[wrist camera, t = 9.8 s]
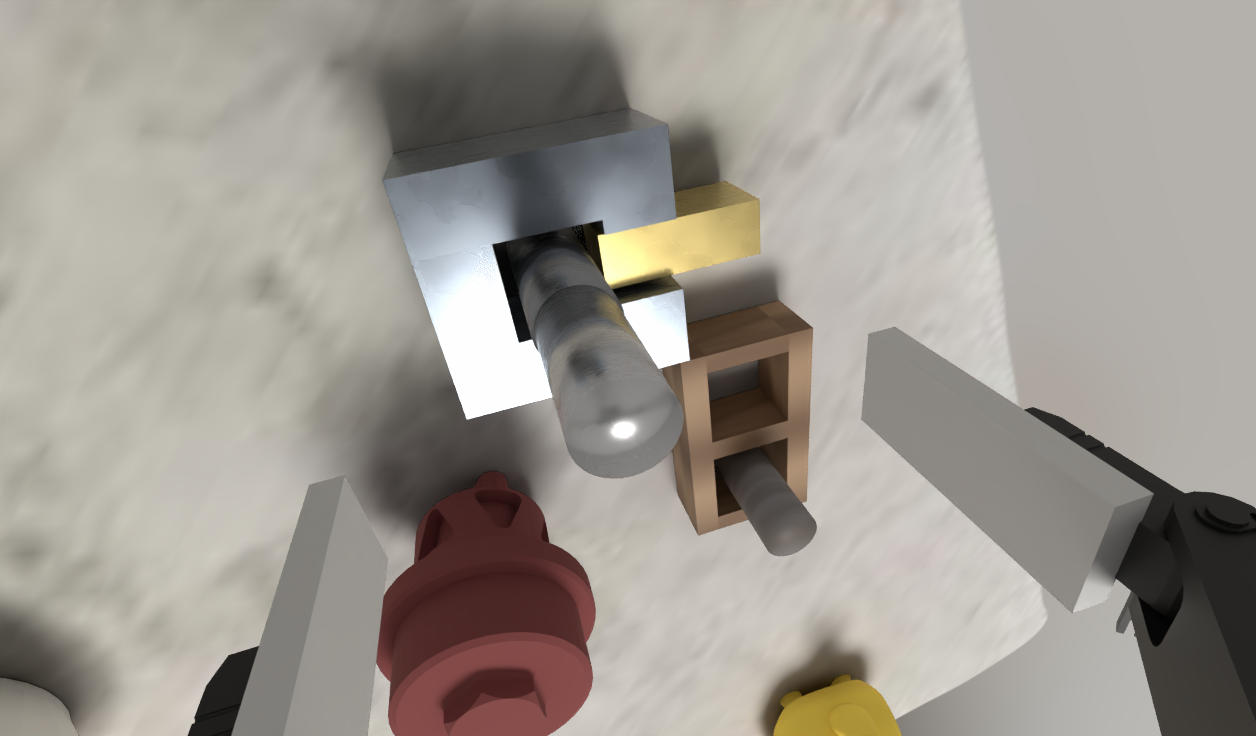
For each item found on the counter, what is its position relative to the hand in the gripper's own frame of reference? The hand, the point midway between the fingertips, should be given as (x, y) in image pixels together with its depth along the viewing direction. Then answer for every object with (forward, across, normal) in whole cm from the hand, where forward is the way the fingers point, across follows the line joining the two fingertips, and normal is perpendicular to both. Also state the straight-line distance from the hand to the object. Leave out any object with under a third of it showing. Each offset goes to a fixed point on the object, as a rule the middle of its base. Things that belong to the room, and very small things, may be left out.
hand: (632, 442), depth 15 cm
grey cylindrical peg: (+15, 0, 0) cm, 15 cm away
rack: (+15, +8, -12) cm, 21 cm away
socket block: (+15, 0, 0) cm, 15 cm away
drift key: (+15, +5, 0) cm, 16 cm away
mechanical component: (+16, -7, -14) cm, 22 cm away
